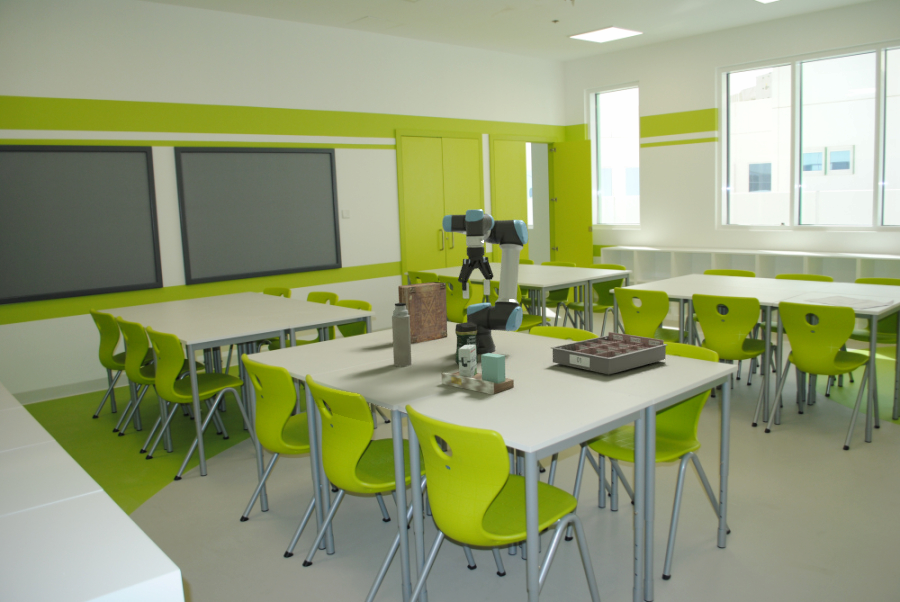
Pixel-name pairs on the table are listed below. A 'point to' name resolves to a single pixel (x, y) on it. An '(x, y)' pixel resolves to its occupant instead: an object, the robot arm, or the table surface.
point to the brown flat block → (476, 383)
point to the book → (425, 310)
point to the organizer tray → (610, 353)
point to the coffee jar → (465, 336)
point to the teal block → (493, 367)
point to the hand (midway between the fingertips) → (476, 296)
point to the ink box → (467, 361)
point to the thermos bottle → (401, 335)
